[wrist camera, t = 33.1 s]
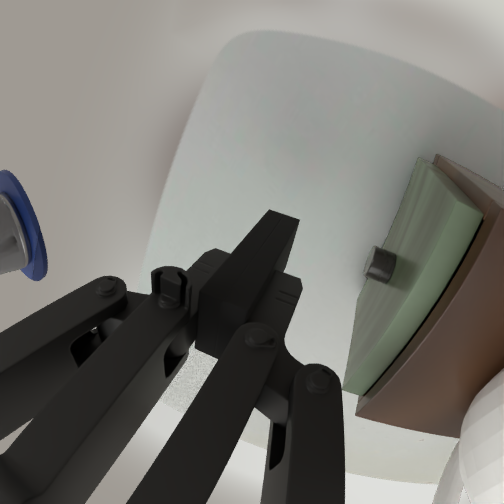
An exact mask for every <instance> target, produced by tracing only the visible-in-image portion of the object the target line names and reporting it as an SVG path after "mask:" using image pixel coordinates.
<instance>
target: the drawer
mask: <svg viewBox="0 0 504 504" xmlns="http://www.w3.org/2000/svg"><path fill="white" fill-rule="evenodd" d="M483 215H484V214H483V213H482V212H481V210H480V209H479V208H478V207H477V206H476V205H475V204H474V203H473V202H472V201H471V199H470V198H469V197H468V196H467V195H466V194H465V193H464V192H463V191H462V190H461V189H460V188H459V187H458V186H457V185H456V184H455V183H454V182H453V181H452V180H451V179H450V178H449V177H448V176H447V175H446V174H445V173H444V172H443V171H442V170H440V169H439V168H438V167H437V166H436V165H434V164H432V163H430V162H428V161H426V160H423V159H421V158H418V160H417V163H416V165H415V168H414V171H413V174H412V177H411V179H410V182H409V185H408V188H407V190H406V193H405V195H404V198H403V201H402V203H401V206H400V208H399V211H398V213H397V215H396V218H395V220H394V223H393V225H392V227H391V230H390V232H389V234H388V237H387V239H386V241H385V243H384V246H383V248H380V247H378V246H374V247H373V248H372V249H371V251H370V253H369V256H368V258H367V261H366V264H365V268H364V276H365V277H367V278H368V279H367V281H366V283H365V285H364V287H363V289H362V291H361V293H360V295H359V297H358V299H357V305H356V313H355V320H354V327H353V333H352V339H351V345H350V351H349V356H348V362H347V367H346V372H345V377H344V382H343V387H342V390H344V391H347V392H350V393H353V394H356V395H359V396H363V395H364V394H365V393H366V392H367V390H368V389H369V388H370V387H371V386H372V385H373V384H374V383H375V381H376V380H377V379H378V378H379V377H380V376H381V375H382V373H383V372H384V371H385V370H386V369H387V367H388V366H389V365H390V364H391V363H392V361H393V363H394V362H395V361H396V360H397V359H398V357H399V356H400V355H401V354H402V352H403V351H404V350H405V348H406V347H407V346H408V345H409V343H410V342H411V341H412V339H413V338H414V337H415V335H416V334H417V333H418V331H419V330H420V329H421V327H422V326H423V324H424V323H425V322H426V320H427V319H428V317H429V316H430V314H431V313H432V311H433V310H434V308H435V307H436V305H437V304H438V302H439V301H440V299H441V298H442V296H443V295H444V293H445V292H446V290H447V288H448V287H449V285H450V283H451V282H452V280H453V278H454V277H455V275H456V273H457V272H458V270H459V268H460V266H461V265H462V263H463V261H464V259H465V257H466V256H467V254H468V252H469V250H470V248H471V246H472V244H473V242H474V240H475V238H476V236H477V234H478V232H479V230H480V228H481V226H482V224H483V222H484V220H483V219H482V218H483Z"/></svg>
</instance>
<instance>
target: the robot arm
mask: <svg viewBox="0 0 504 504" xmlns="http://www.w3.org/2000/svg"><path fill="white" fill-rule="evenodd" d="M299 221H300V220H299V219H296V218H293V217H290V216H287V215H284V214H281V213H278V212H275V211H272V210H268V211H267V213H266V214H265V215H264V216H263V217H262V218H261V219H260V221H259V222H258V223H257V224H256V225H255V226H254V227H253V229H252V230H251V231H250V232H249V233H248V234H247V236H246V237H245V238H244V239H243V240H242V241H241V243H240V244H239V245H238V246H237V247H236V248H235V250H234V251H233V252H232V253H231V254H230V253H227V252H224V251H222V250H219V249H216V248H215V249H212V250H210V251H207V252H205V253H204V254H203V255H202V256H201V257H200V258H199V259H198V260H197V261H196V262H195V263H194V264H193V265H192V267H190V268H189V269H188V270H187V271H185V270H183V269H182V268H178V267H174V266H164V267H160V268H157V269H155V270H153V271H152V272H151V283H152V293H151V294H150V295H147V294H140V293H135V292H130V291H127V288H126V284H125V282H124V281H123V280H122V279H120V278H118V277H114V276H103V277H100V278H97V279H95V280H93V281H91V282H90V283H88V284H86V285H84V286H82V287H80V288H78V289H76V290H74V291H73V292H71V293H69V294H67V295H65V296H64V297H62V298H60V299H58V300H56V301H55V302H53V303H51V304H49V305H47V306H46V307H44V308H42V309H40V310H39V311H37V312H35V313H33V314H32V315H30V316H28V317H26V318H25V319H23V320H22V321H20V322H18V323H16V324H15V325H13V326H11V327H9V328H8V329H6V330H4V331H3V332H1V333H0V440H2V439H3V438H5V437H6V436H8V435H9V434H10V433H12V432H13V431H15V430H16V429H18V428H19V427H21V426H22V425H24V424H25V423H26V422H28V421H30V420H31V419H32V418H33V420H32V421H31V422H30V423H29V424H28V426H27V427H26V428H25V429H24V430H23V431H22V433H21V434H20V435H19V436H18V437H17V438H16V440H15V441H14V442H13V443H12V444H11V446H10V447H9V448H8V449H7V451H5V452H4V453H3V454H1V455H0V504H85V503H86V501H87V500H88V498H89V497H90V496H91V494H92V493H93V491H94V490H95V488H96V487H97V486H98V484H99V483H100V482H101V480H102V479H103V478H104V476H105V475H106V473H107V472H108V471H109V469H110V468H111V466H112V465H113V464H114V462H115V461H116V459H117V458H118V457H119V455H120V454H121V452H122V451H123V450H124V448H125V447H126V445H127V444H128V442H129V441H130V440H131V438H132V437H133V435H134V434H135V433H136V431H137V430H138V428H139V427H140V426H141V424H142V422H143V421H144V420H145V418H146V417H147V415H148V414H149V413H150V411H151V410H152V408H153V407H154V406H155V404H156V403H157V401H158V400H159V399H160V397H161V396H162V394H163V393H164V391H165V390H166V389H167V387H168V386H169V384H170V383H171V381H172V380H173V379H174V377H175V376H176V374H177V373H178V371H179V370H180V369H181V367H182V366H183V364H184V363H185V361H186V360H187V357H188V355H189V348H190V346H191V345H192V343H193V342H194V341H195V349H197V350H199V351H201V352H204V353H206V354H208V355H210V356H212V357H215V358H217V359H219V360H218V361H217V363H216V364H215V366H214V368H213V369H212V371H211V373H210V374H209V376H208V377H207V379H206V381H205V382H204V384H203V386H202V387H201V389H200V390H199V392H198V394H197V395H196V397H195V398H194V400H193V402H192V403H191V405H190V406H189V408H188V410H187V411H186V413H185V414H184V416H183V418H182V419H181V421H180V422H179V424H178V425H177V427H176V429H175V430H174V432H173V433H172V435H171V436H170V438H169V440H168V441H167V443H166V444H165V446H164V447H163V449H162V450H161V452H160V453H159V455H158V457H157V458H156V459H155V461H154V463H153V464H152V466H151V467H150V469H149V470H148V472H147V473H146V475H145V476H144V478H143V480H142V481H141V482H140V484H139V485H138V487H137V488H136V490H135V491H134V493H133V494H132V496H131V497H130V499H129V500H128V501H127V503H126V504H206V502H207V501H208V499H209V497H210V495H211V493H212V491H213V490H214V488H215V486H216V484H217V482H218V480H219V478H220V476H221V474H222V472H223V470H224V468H225V466H226V465H227V463H228V461H229V459H230V457H231V454H232V452H233V450H234V448H235V446H236V444H237V442H238V440H239V438H240V436H241V434H242V432H243V430H244V428H245V426H246V424H247V421H248V419H249V417H250V415H251V413H252V411H253V408H254V407H255V408H256V409H257V410H259V411H260V412H261V413H263V414H264V415H265V416H266V417H268V418H269V419H270V420H271V421H270V430H269V439H268V448H267V456H266V465H265V473H264V481H263V488H262V497H261V503H260V504H345V445H344V420H343V402H342V388H341V383H340V379H339V377H338V376H337V375H336V373H335V372H334V371H333V370H331V369H330V368H328V367H327V366H324V365H321V364H307V365H305V366H304V365H303V364H302V363H300V362H299V361H297V360H296V359H295V358H294V357H293V356H291V355H290V353H289V352H288V350H287V349H286V346H285V342H284V338H285V334H286V331H287V329H288V326H289V323H290V321H291V318H292V316H293V313H294V311H295V308H296V305H297V303H298V300H299V297H300V295H301V292H302V289H303V287H302V283H301V279H300V278H297V277H294V276H291V275H289V274H286V273H283V272H284V270H285V268H286V264H287V261H288V258H289V255H290V251H291V248H292V245H293V241H294V238H295V235H296V231H297V228H298V225H299ZM31 261H32V250H31V244H30V240H29V236H28V233H27V230H26V227H25V224H24V222H23V219H22V217H21V215H20V212H19V210H18V208H17V207H16V205H15V203H14V201H13V200H12V199H11V197H10V196H9V195H8V194H7V193H5V192H1V193H0V274H4V273H7V272H11V271H15V270H19V269H22V268H24V267H26V266H27V265H29V264H30V263H31ZM95 327H97V328H96V329H93V328H95ZM92 329H93V330H92Z"/></svg>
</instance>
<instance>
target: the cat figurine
mask: <svg viewBox="0 0 504 504" xmlns="http://www.w3.org/2000/svg"><path fill="white" fill-rule="evenodd" d="M463 486H464V488H465V490H466V493H467V495H468V498H469V500H470V503H471V504H504V369H502V370H501V371H500V372H499V373H498V374H497V375H496V376H494V377H493V379H492V380H491V381H490V382H489V383H488V384H487V385H486V386H485V387H484V388H483V389H482V390H481V391H480V392H479V393H478V394H477V395H476V396H475V398H474V400H473V401H472V403H471V405H470V407H469V409H468V411H467V413H466V415H465V417H464V420H463V423H462V427H461V435H460V440H459V442H458V443H457V445H456V447H455V448H454V450H453V452H452V454H451V456H450V458H449V460H448V462H447V464H446V466H445V469H444V472H443V474H442V477H441V479H440V482H439V485H438V488H437V491H436V493H435V496H434V500H433V503H432V504H458V503H459V499H460V496H461V492H462V489H463Z"/></svg>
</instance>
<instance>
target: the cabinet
mask: <svg viewBox="0 0 504 504" xmlns="http://www.w3.org/2000/svg"><path fill="white" fill-rule="evenodd" d="M433 164H434V165H436V166H437V167H438V168H439V169H440V170H442V171H443V172H444V173H445V174H446V175H447V176H448V177H449V178H450V179H451V180H452V181H453V182H454V183H455V184H456V185H457V186H458V187H459V188H460V189H461V190H462V191H463V192H464V193H465V194H466V195H467V196H468V197H469V198H470V199H471V201H472V202H473V203H474V204H475V205H476V206H477V207H478V208H479V209H480V210H481V212H482V213H483V214H484V215H483V218H482V219H483V220H484V222H483V224H482V226H481V228H480V230H479V232H478V234H477V236H476V238H475V240H474V242H473V244H472V246H471V248H470V250H469V252H468V254H467V256H466V257H465V259H464V261H463V263H462V265H461V266H460V268H459V270H458V272H457V273H456V275H455V277H454V278H453V280H452V282H451V283H450V285H449V287H448V288H447V290H446V292H445V293H444V295H443V296H442V298H441V299H440V301H439V302H438V304H437V305H436V307H435V308H434V310H433V311H432V313H431V314H430V316H429V317H428V319H427V320H426V322H425V323H424V324H423V326H422V327H421V329H420V330H419V331H418V333H417V334H416V335H415V337H414V338H413V339H412V341H411V342H410V343H409V345H408V346H407V347H406V348H405V350H404V351H403V352H402V354H401V355H400V356H399V357H398V359H397V360H396V361H395V362H394V363H393V361H392V363H391V364H390V365H389V366H388V367H387V369H386V370H385V371H384V372H383V373H382V375H381V376H380V377H379V378H378V379H377V380H376V381H375V383H374V384H373V385H372V386H371V387H370V388H369V389H368V390H367V392H366V393H365V394H364V395H363V396H359V397H358V404H357V408H356V413H355V416H358V417H362V418H365V419H369V420H373V421H376V422H380V423H384V424H388V425H392V426H397V427H401V428H405V429H410V430H415V431H420V432H425V433H430V434H435V435H441V436H447V437H454V438H460V435H461V427H462V423H463V420H464V417H465V415H466V413H467V411H468V409H469V407H470V405H471V403H472V401H473V400H474V398H475V396H476V395H477V394H478V393H479V392H480V391H481V390H482V389H483V388H484V387H485V386H486V385H487V384H488V383H489V382H490V381H491V380H492V379H493V377H494V376H496V375H497V374H498V373H499V372H500V371H501V370H502V369H504V190H503V189H501V188H500V187H498V186H496V185H495V184H493V183H491V182H490V181H488V180H486V179H485V178H483V177H481V176H479V175H477V174H476V173H474V172H472V171H470V170H468V169H466V168H465V167H463V166H461V165H459V164H457V163H455V162H453V161H451V160H449V159H447V158H445V157H443V156H441V155H439V154H436V156H435V159H434V162H433Z"/></svg>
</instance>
